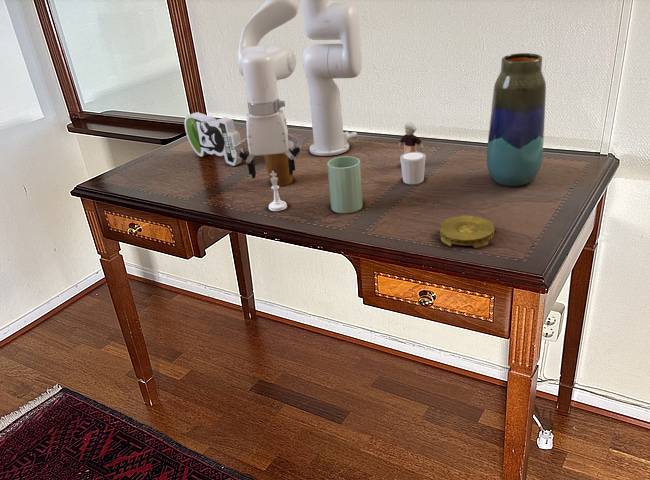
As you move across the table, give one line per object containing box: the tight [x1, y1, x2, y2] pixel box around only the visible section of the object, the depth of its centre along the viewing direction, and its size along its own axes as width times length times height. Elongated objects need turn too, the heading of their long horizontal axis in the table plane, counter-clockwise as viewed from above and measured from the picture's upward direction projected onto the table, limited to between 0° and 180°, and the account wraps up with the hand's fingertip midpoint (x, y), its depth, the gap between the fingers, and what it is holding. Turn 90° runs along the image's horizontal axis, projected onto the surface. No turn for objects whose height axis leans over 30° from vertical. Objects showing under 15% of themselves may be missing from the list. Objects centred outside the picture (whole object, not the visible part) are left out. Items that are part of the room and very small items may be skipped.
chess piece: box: [268, 171, 288, 212], centre depth 164 cm, size 5×5×10 cm
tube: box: [326, 155, 364, 214], centre depth 160 cm, size 8×8×12 cm
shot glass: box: [399, 151, 427, 185], centre depth 171 cm, size 7×7×7 cm
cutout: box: [183, 111, 244, 166], centre depth 199 cm, size 15×3×25 cm
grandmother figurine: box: [398, 121, 424, 154], centre depth 179 cm, size 8×4×13 cm, turn 68°
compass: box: [439, 215, 495, 249], centre depth 143 cm, size 12×12×2 cm
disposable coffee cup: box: [263, 141, 295, 187], centre depth 178 cm, size 10×10×12 cm
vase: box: [486, 52, 547, 187], centre depth 159 cm, size 14×14×31 cm
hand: (272, 174), depth 161 cm, fingers open, 9 cm apart
